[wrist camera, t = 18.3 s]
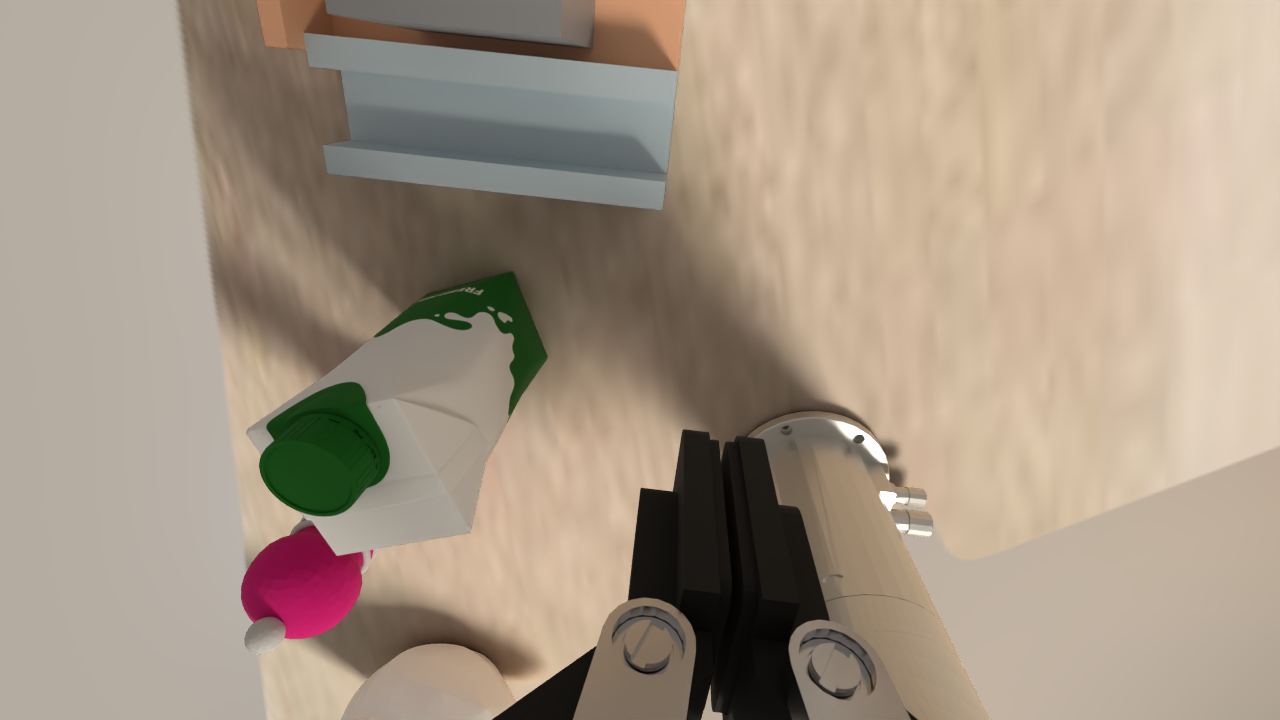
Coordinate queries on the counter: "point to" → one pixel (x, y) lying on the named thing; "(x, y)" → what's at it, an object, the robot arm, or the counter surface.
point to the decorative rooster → (432, 687)
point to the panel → (482, 18)
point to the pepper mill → (299, 588)
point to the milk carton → (405, 420)
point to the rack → (501, 102)
